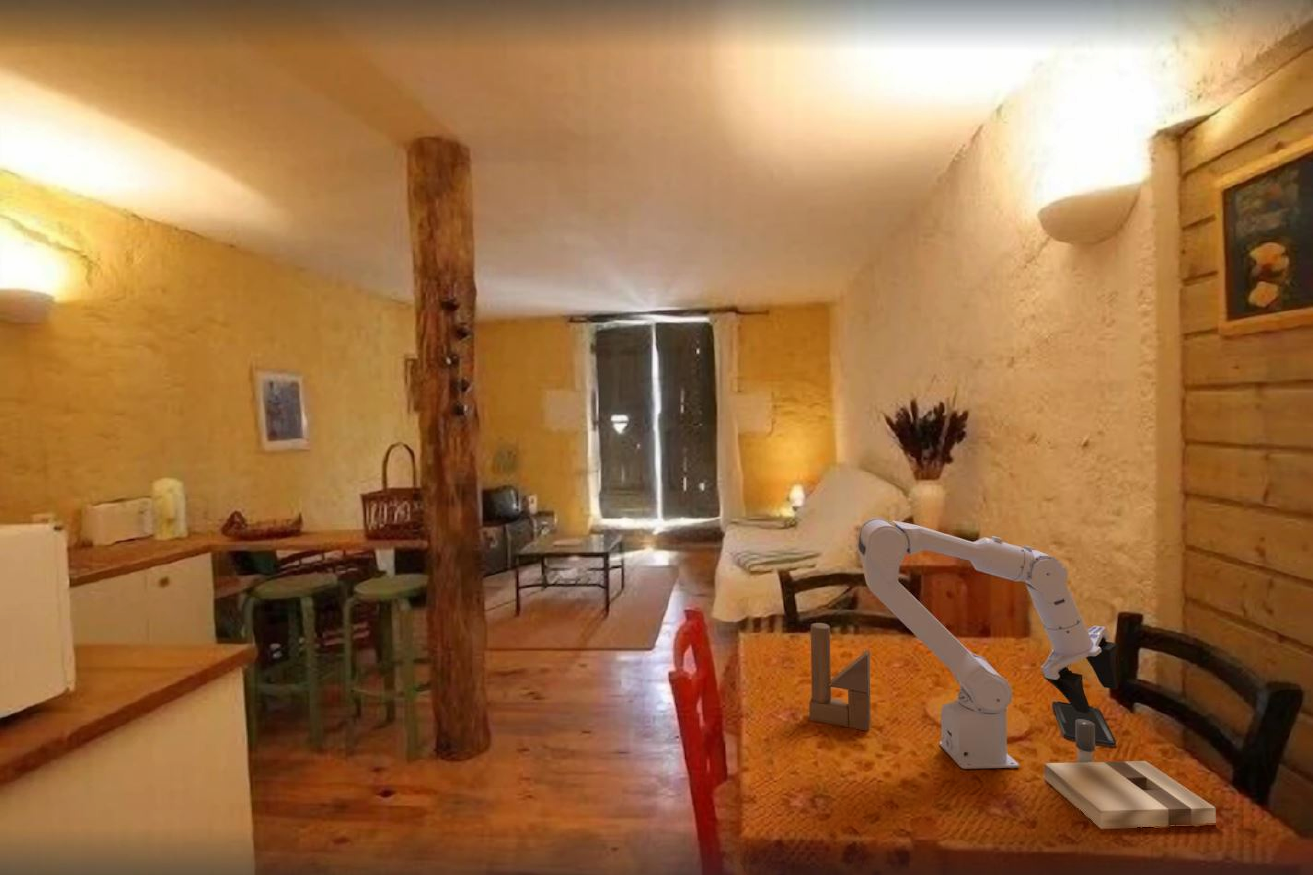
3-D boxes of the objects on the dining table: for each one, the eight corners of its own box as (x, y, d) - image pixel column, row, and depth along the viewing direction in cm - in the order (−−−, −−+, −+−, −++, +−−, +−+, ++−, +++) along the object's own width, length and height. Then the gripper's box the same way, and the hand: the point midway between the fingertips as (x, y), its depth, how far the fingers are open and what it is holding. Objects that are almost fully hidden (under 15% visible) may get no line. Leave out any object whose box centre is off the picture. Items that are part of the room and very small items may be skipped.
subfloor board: (1100, 828, 84) (1100, 810, 84) (1044, 779, 96) (1044, 763, 96) (1215, 825, 85) (1215, 807, 85) (1145, 776, 97) (1145, 760, 97)
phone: (1098, 707, 119) (1117, 743, 105) (1099, 713, 119) (1117, 750, 105) (1050, 700, 122) (1062, 734, 109) (1050, 706, 122) (1062, 740, 109)
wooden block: (868, 732, 112) (867, 634, 112) (809, 721, 117) (807, 626, 116) (870, 723, 115) (869, 628, 115) (812, 712, 120) (811, 621, 120)
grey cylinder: (1083, 770, 99) (1082, 726, 99) (1071, 761, 101) (1071, 719, 101) (1099, 769, 99) (1098, 726, 99) (1087, 761, 101) (1087, 718, 101)
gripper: (1057, 645, 95) (1094, 728, 94) (1112, 603, 100) (1148, 681, 99) (1017, 639, 101) (1052, 717, 100) (1071, 600, 106) (1104, 674, 106)
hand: (1097, 699), depth 100 cm, fingers open, 7 cm apart
